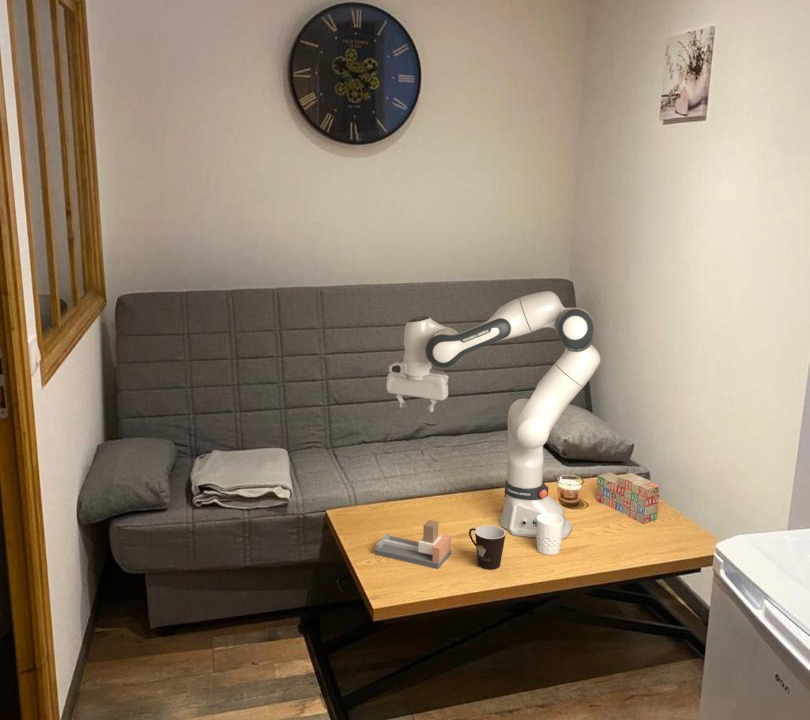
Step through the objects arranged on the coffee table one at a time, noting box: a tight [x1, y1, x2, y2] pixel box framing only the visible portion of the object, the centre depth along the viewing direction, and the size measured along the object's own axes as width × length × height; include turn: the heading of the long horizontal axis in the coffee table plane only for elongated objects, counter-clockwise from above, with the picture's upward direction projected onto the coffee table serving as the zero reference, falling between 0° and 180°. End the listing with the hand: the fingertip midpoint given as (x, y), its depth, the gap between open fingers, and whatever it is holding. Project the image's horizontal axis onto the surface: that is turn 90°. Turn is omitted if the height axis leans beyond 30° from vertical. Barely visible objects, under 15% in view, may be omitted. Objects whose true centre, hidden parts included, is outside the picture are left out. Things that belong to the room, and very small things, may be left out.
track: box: [373, 533, 452, 570], centre depth 237 cm, size 20×10×6 cm, turn 66°
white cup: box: [536, 513, 564, 556], centre depth 240 cm, size 8×8×10 cm
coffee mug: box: [468, 524, 507, 571], centre depth 232 cm, size 12×9×10 cm
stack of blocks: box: [595, 472, 661, 525], centre depth 268 cm, size 21×6×12 cm, turn 32°
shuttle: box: [418, 519, 443, 555], centre depth 234 cm, size 5×6×8 cm
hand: (416, 409), depth 260 cm, fingers open, 8 cm apart
